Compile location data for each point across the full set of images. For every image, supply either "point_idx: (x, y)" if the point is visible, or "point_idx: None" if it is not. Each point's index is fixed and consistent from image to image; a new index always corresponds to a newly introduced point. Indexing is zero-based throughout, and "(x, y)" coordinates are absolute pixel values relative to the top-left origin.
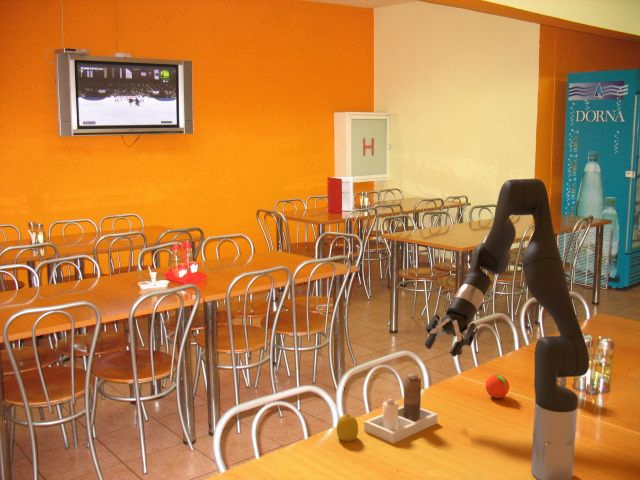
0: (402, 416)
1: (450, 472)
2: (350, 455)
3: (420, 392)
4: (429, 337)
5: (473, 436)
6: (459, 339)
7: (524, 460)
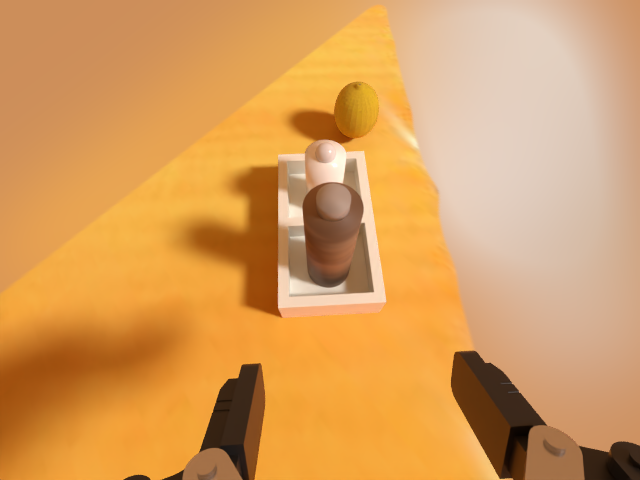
0: (367, 274)
1: (145, 188)
2: (315, 116)
3: (306, 239)
4: (508, 397)
5: (185, 354)
6: (200, 464)
7: (25, 343)
